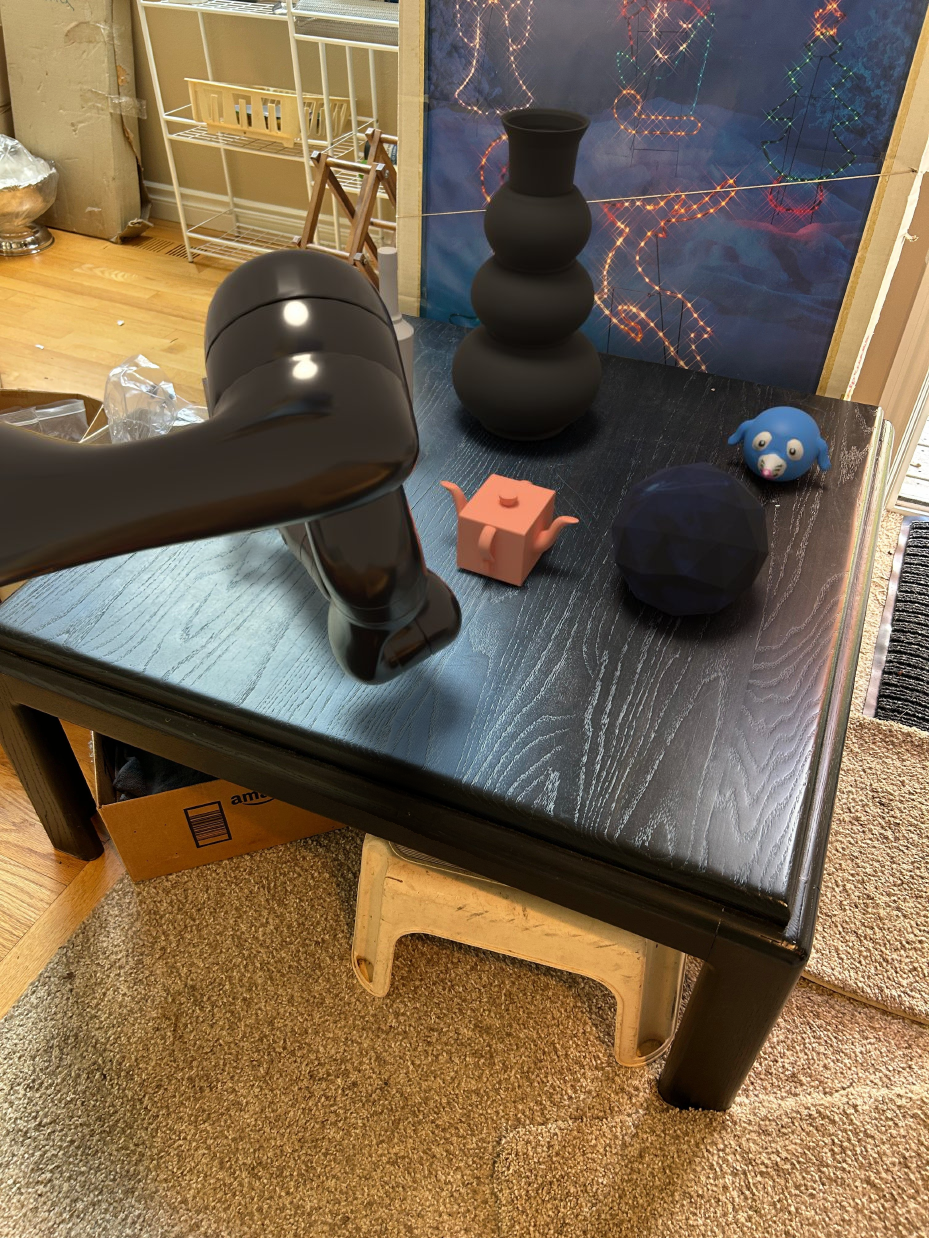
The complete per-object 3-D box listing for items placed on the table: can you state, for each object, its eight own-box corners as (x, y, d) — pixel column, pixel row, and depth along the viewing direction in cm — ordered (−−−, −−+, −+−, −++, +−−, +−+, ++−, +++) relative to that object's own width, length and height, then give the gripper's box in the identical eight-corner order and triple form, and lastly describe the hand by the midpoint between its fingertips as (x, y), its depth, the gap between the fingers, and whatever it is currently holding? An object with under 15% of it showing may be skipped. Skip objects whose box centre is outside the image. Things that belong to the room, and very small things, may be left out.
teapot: (550, 613, 89) (558, 546, 83) (414, 569, 93) (413, 503, 87) (590, 547, 97) (599, 481, 91) (463, 509, 101) (465, 445, 95)
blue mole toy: (704, 492, 105) (720, 428, 99) (732, 445, 113) (748, 383, 107) (809, 522, 101) (831, 458, 95) (829, 471, 109) (851, 409, 103)
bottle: (368, 471, 106) (356, 257, 90) (378, 448, 110) (368, 239, 93) (411, 475, 106) (407, 262, 89) (419, 452, 110) (417, 243, 93)
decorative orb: (555, 537, 89) (649, 473, 76) (647, 480, 97) (746, 413, 84) (633, 659, 89) (741, 614, 76) (719, 592, 97) (829, 541, 84)
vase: (449, 387, 122) (452, 95, 98) (584, 387, 123) (619, 98, 99) (453, 461, 108) (458, 143, 85) (604, 461, 109) (651, 146, 86)
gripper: (388, 463, 82) (322, 386, 93) (237, 503, 77) (185, 417, 88) (391, 529, 87) (327, 449, 98) (249, 571, 82) (198, 481, 93)
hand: (260, 434), depth 93 cm, fingers open, 8 cm apart
